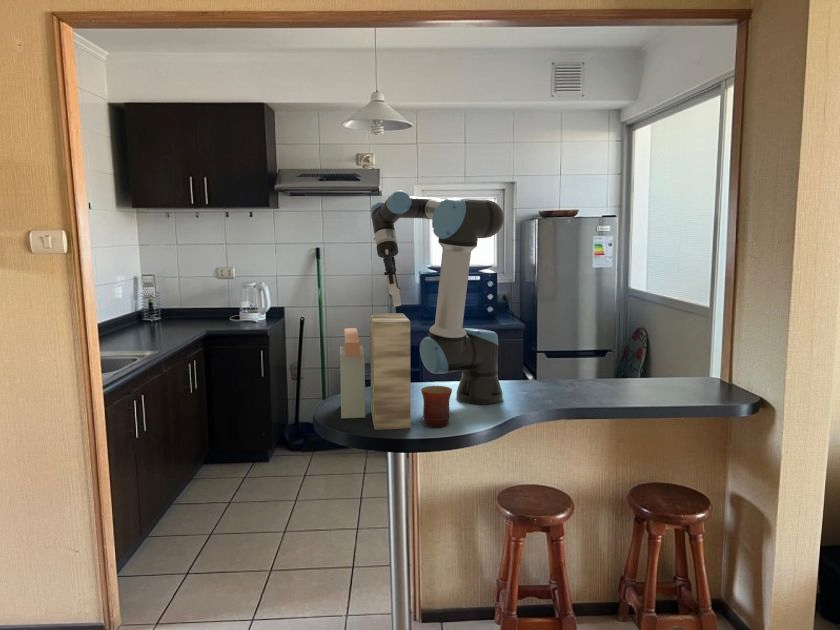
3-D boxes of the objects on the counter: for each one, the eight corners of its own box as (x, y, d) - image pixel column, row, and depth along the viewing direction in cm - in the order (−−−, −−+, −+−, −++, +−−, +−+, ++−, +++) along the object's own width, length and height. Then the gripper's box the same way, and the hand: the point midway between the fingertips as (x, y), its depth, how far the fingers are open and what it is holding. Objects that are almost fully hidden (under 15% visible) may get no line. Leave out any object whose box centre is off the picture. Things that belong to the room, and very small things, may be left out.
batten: (344, 340, 198) (344, 328, 198) (356, 340, 199) (356, 328, 199) (345, 356, 171) (345, 342, 170) (359, 356, 172) (359, 342, 171)
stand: (370, 411, 183) (369, 313, 179) (403, 410, 185) (403, 313, 181) (374, 429, 166) (373, 322, 162) (410, 428, 167) (410, 321, 163)
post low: (340, 405, 190) (340, 346, 187) (363, 404, 191) (362, 345, 188) (341, 418, 176) (340, 354, 174) (365, 417, 177) (364, 354, 175)
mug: (456, 427, 168) (457, 391, 166) (427, 431, 164) (427, 394, 163) (440, 415, 179) (440, 382, 177) (412, 418, 176) (412, 384, 174)
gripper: (380, 259, 226) (389, 312, 220) (371, 231, 203) (380, 289, 196) (400, 255, 226) (409, 308, 220) (393, 227, 202) (403, 285, 196)
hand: (395, 299), depth 208 cm, fingers open, 13 cm apart
